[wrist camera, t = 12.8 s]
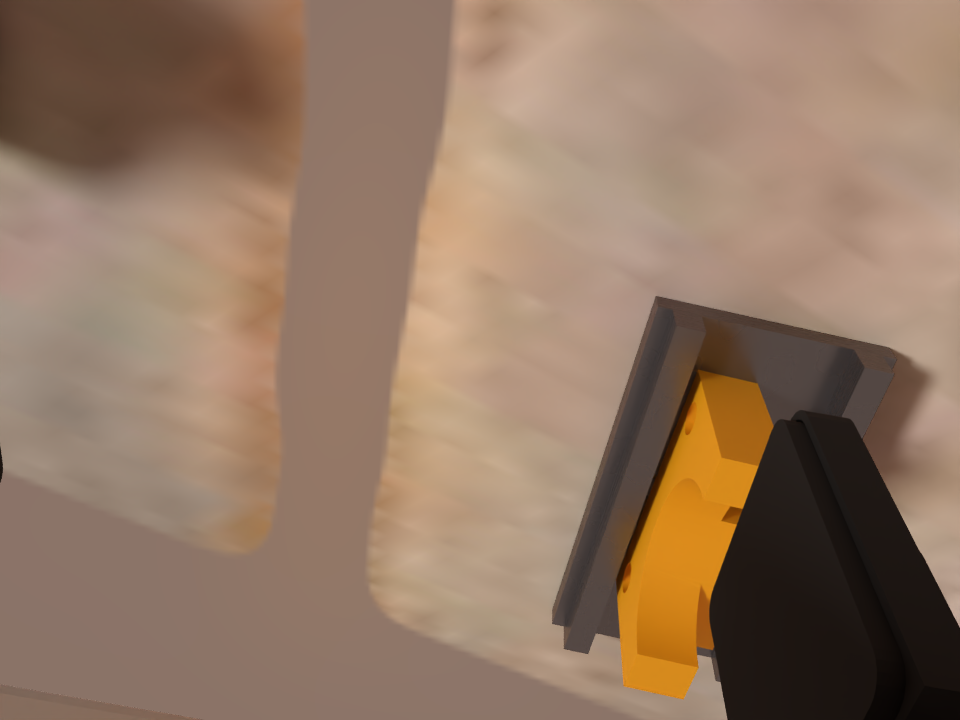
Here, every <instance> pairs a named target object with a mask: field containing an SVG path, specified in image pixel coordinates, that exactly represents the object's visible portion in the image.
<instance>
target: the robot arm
mask: <svg viewBox="0 0 960 720" xmlns="http://www.w3.org/2000/svg"><path fill="white" fill-rule="evenodd" d="M2 473H3V463H2V455H1V448H0V482H1V479H2ZM709 620H710V627H711V632H712V638H713V643H714V649H715V654H716V659H717V665H718V670H719V676H720V681H721V686H722V692H723V697H724V702H725V708H726V713H727V719H728V720H960V627H959V625H958V623H957V622H956V620H955V618H954V616H953V614H952V612H951V610H950V608H949V606H948V604H947V602H946V600H945V598H944V596H943V594H942V592H941V590H940V588H939V586H938V584H937V582H936V580H935V579H934V577H933V575H932V573H931V571H930V569H929V567H928V565H927V563H926V561H925V559H924V557H923V555H922V554H921V553H920V551H919V550H918V548H917V546H916V544H915V542H914V540H913V538H912V536H911V534H910V532H909V530H908V528H907V526H906V524H905V522H904V520H903V518H902V516H901V514H900V512H899V510H898V508H897V506H896V504H895V503H894V501H893V499H892V497H891V495H890V493H889V491H888V489H887V487H886V485H885V483H884V481H883V479H882V477H881V475H880V473H879V471H878V469H877V467H876V465H875V463H874V461H873V459H872V457H871V455H870V454H869V452H868V450H867V448H866V446H865V444H864V442H863V440H862V438H861V436H860V434H859V432H858V430H857V428H856V426H855V424H854V423H853V421H852V420H851V419H849V418H844V417H838V416H833V415H827V414H821V413H816V412H810V411H804V410H799V411H797V412H796V413H795V414H794V415H793V417H792V418H791V420H784V419H780V420H778V421H777V422H776V423H775V425H774V427H773V429H772V431H771V434H770V436H769V439H768V442H767V445H766V447H765V450H764V453H763V455H762V458H761V461H760V463H759V466H758V469H757V472H756V474H755V477H754V480H753V482H752V485H751V488H750V490H749V493H748V496H747V499H746V501H745V504H744V507H743V509H742V512H741V515H740V517H739V520H738V523H737V526H736V528H735V531H734V534H733V536H732V539H731V542H730V544H729V547H728V550H727V553H726V555H725V558H724V561H723V563H722V566H721V569H720V571H719V574H718V577H717V580H716V582H715V585H714V588H713V591H712V594H711V599H710V607H709ZM0 720H202V719H195V718H190V717H184V716H179V715H173V714H168V713H161V712H156V711H150V710H145V709H138V708H133V707H128V706H122V705H115V704H111V703H105V702H99V701H93V700H88V699H81V698H76V697H70V696H64V695H59V694H53V693H47V692H41V691H36V690H30V689H25V688H19V687H13V686H7V685H2V684H0Z"/></svg>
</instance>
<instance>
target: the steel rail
mask: <svg viewBox="0 0 960 720" xmlns="http://www.w3.org/2000/svg"><path fill="white" fill-rule="evenodd" d="M896 360H897V359H896V357H895V356H894V354H893V353H892V351H891V350H890V348H888V347H883V346H879V345H874V344H870V343H865V342H861V341H856V340H852V339H847V338H842V337H838V336H833V335H829V334H824V333H820V332H815V331H811V330H806V329H802V328H797V327H793V326H788V325H784V324H779V323H775V322H770V321H766V320H761V319H757V318H752V317H748V316H743V315H739V314H734V313H730V312H725V311H721V310H716V309H712V308H707V307H702V306H698V305H693V304H689V303H684V302H680V301H675V300H671V299H666V298H662V297H657V296H656V298H655V301H654V304H653V307H652V310H651V313H650V316H649V319H648V322H647V325H646V328H645V331H644V334H643V337H642V340H641V343H640V346H639V349H638V352H637V355H636V358H635V361H634V364H633V367H632V370H631V373H630V376H629V379H628V382H627V385H626V388H625V391H624V394H623V397H622V400H621V403H620V407H619V410H618V413H617V416H616V419H615V422H614V425H613V428H612V431H611V434H610V437H609V440H608V443H607V446H606V449H605V452H604V455H603V458H602V461H601V464H600V467H599V470H598V473H597V476H596V479H595V482H594V485H593V488H592V491H591V494H590V497H589V500H588V503H587V506H586V509H585V512H584V515H583V519H582V522H581V525H580V528H579V531H578V534H577V537H576V540H575V543H574V546H573V549H572V552H571V555H570V558H569V561H568V564H567V567H566V570H565V573H564V576H563V579H562V582H561V585H560V588H559V591H558V594H557V597H556V600H555V603H554V606H553V609H552V624H555V625H560V626H564V649H566V650H571V651H576V652H581V653H585V654H588V653H589V650H590V647H591V645H592V642H593V639H594V636H595V634H596V633H598V634H603V635H607V636H612V637H617V638H620V629H619V615H618V601H617V588H616V579H617V576H618V574H619V571H620V569H621V566H622V563H623V561H624V558H625V556H626V553H627V551H628V548H629V545H630V543H631V540H632V538H633V535H634V533H635V530H636V527H637V525H638V522H639V520H640V517H641V515H642V512H643V509H644V507H645V504H646V502H647V499H648V497H649V494H650V491H651V489H652V486H653V484H654V481H655V479H656V476H657V474H658V471H659V468H660V466H661V463H662V461H663V458H664V456H665V453H666V450H667V448H668V445H669V443H670V440H671V438H672V435H673V432H674V430H675V427H676V425H677V422H678V420H679V417H680V414H681V412H682V409H683V407H684V404H685V402H686V399H687V397H688V394H689V391H690V389H691V386H692V384H693V381H694V379H695V376H696V373H697V371H698V370H702V371H706V372H710V373H715V374H719V375H723V376H728V377H732V378H736V379H740V380H745V381H749V382H753V383H758V386H759V388H760V391H761V394H762V396H763V399H764V402H765V404H766V407H767V410H768V412H769V415H770V418H771V420H772V423H773V426H774V425H775V423H776V422H777V421H778V420H780V419H784V420H791V418H792V417H793V415H794V414H795V413H796V412H797V411H799V410H804V411H810V412H816V413H821V414H827V415H833V416H838V417H844V418H849V419H851V420H852V421H853V423H854V424H855V426H856V428H857V430H858V432H859V434H860V436H861V438H862V439H863V437H864V435H865V433H866V431H867V429H868V427H869V425H870V422H871V420H872V418H873V416H874V414H875V412H876V410H877V408H878V406H879V404H880V402H881V400H882V398H883V396H884V394H885V392H886V390H887V388H888V386H889V384H890V382H891V380H892V378H893V376H894V373H893V371H892V368H893V366H894V364H895V362H896ZM696 649H697V655H702V656H707V657H711V658H712V664H713V669H714V674H715V680H716V681H718V682H721V681H720V676H719V670H718V665H717V659H716V654H715V649H714V648H713V650H710V649H705V648H701V647H696Z"/></svg>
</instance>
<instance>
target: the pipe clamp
mask: <svg viewBox="0 0 960 720" xmlns="http://www.w3.org/2000/svg"><path fill="white" fill-rule="evenodd" d="M773 427H774V426H773V423H772V420H771V418H770V415H769V412H768V410H767V407H766V404H765V402H764V399H763V396H762V394H761V391H760V388H759V386H758V383H753V382H749V381H745V380H740V379H736V378H732V377H728V376H723V375H719V374H715V373H710V372H706V371H702V370H698V371H697V373H696V376H695V379H694V381H693V384H692V386H691V389H690V391H689V394H688V397H687V399H686V402H685V404H684V407H683V409H682V412H681V414H680V417H679V420H678V422H677V425H676V427H675V430H674V432H673V435H672V438H671V440H670V443H669V445H668V448H667V450H666V453H665V456H664V458H663V461H662V463H661V466H660V468H659V471H658V474H657V476H656V479H655V481H654V484H653V486H652V489H651V491H650V494H649V497H648V499H647V502H646V504H645V507H644V509H643V512H642V515H641V517H640V520H639V522H638V525H637V527H636V530H635V533H634V535H633V538H632V540H631V543H630V545H629V548H628V551H627V553H626V556H625V558H624V561H623V563H622V566H621V569H620V571H619V574H618V576H617V579H616V588H617V601H618V615H619V629H620V642H621V656H622V670H623V683H624V686H625V687H630V688H634V689H639V690H643V691H648V692H652V693H657V694H661V695H666V696H670V697H675V698H679V699H684V697H685V695H686V693H687V691H688V689H689V686H690V684H691V682H692V680H693V678H694V676H695V674H696V672H697V670H698V660H697V649H696V647H701V648H705V649H710V650H713V648H714V643H713V638H712V632H711V627H710V620H709V607H710V599H711V594H712V591H713V588H714V585H715V582H716V580H717V577H718V574H719V571H720V569H721V566H722V563H723V561H724V558H725V555H726V553H727V550H728V547H729V544H730V542H731V539H732V536H733V534H734V531H735V528H736V526H737V523H738V520H739V517H740V515H741V512H742V509H743V507H744V504H745V501H746V499H747V496H748V493H749V490H750V488H751V485H752V482H753V480H754V477H755V474H756V472H757V469H758V466H759V463H760V461H761V458H762V455H763V453H764V450H765V447H766V445H767V442H768V439H769V436H770V434H771V431H772V429H773Z"/></svg>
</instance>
